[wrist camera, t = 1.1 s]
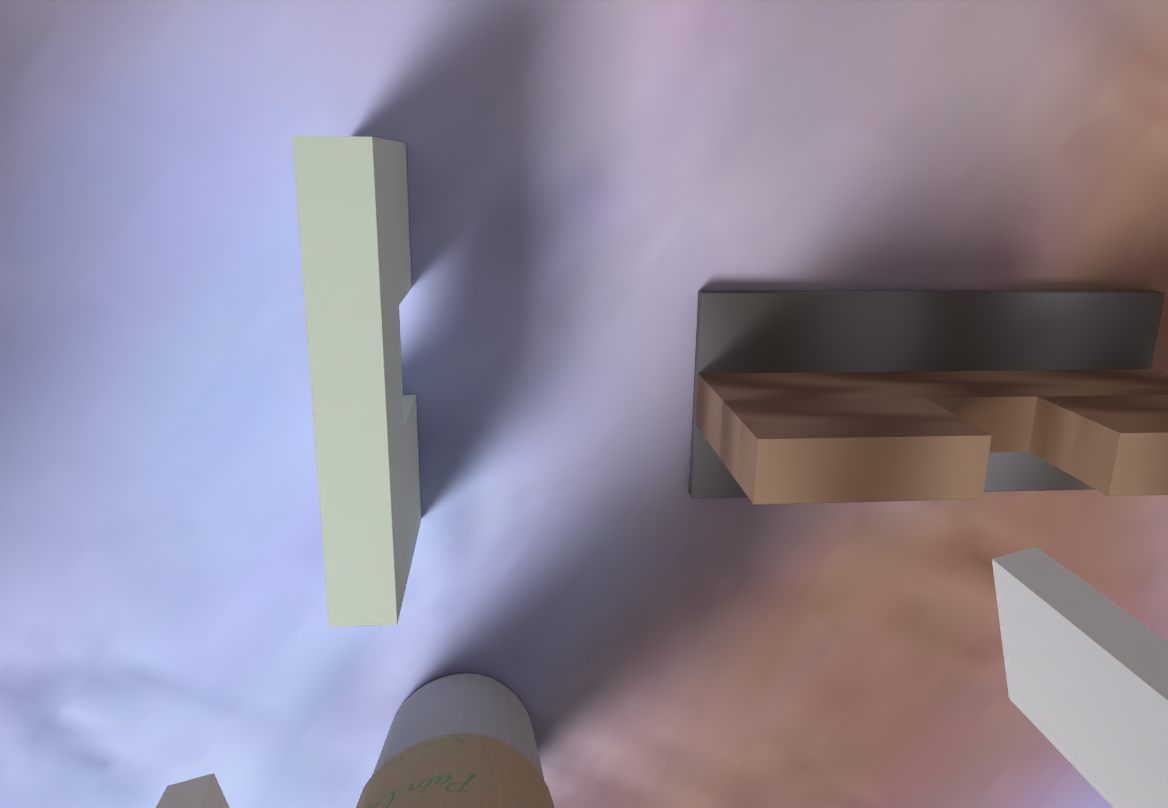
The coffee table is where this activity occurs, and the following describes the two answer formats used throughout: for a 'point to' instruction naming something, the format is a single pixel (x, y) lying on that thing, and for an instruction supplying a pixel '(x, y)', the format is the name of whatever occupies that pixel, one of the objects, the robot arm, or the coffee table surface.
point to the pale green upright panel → (359, 369)
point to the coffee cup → (459, 750)
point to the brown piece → (926, 395)
